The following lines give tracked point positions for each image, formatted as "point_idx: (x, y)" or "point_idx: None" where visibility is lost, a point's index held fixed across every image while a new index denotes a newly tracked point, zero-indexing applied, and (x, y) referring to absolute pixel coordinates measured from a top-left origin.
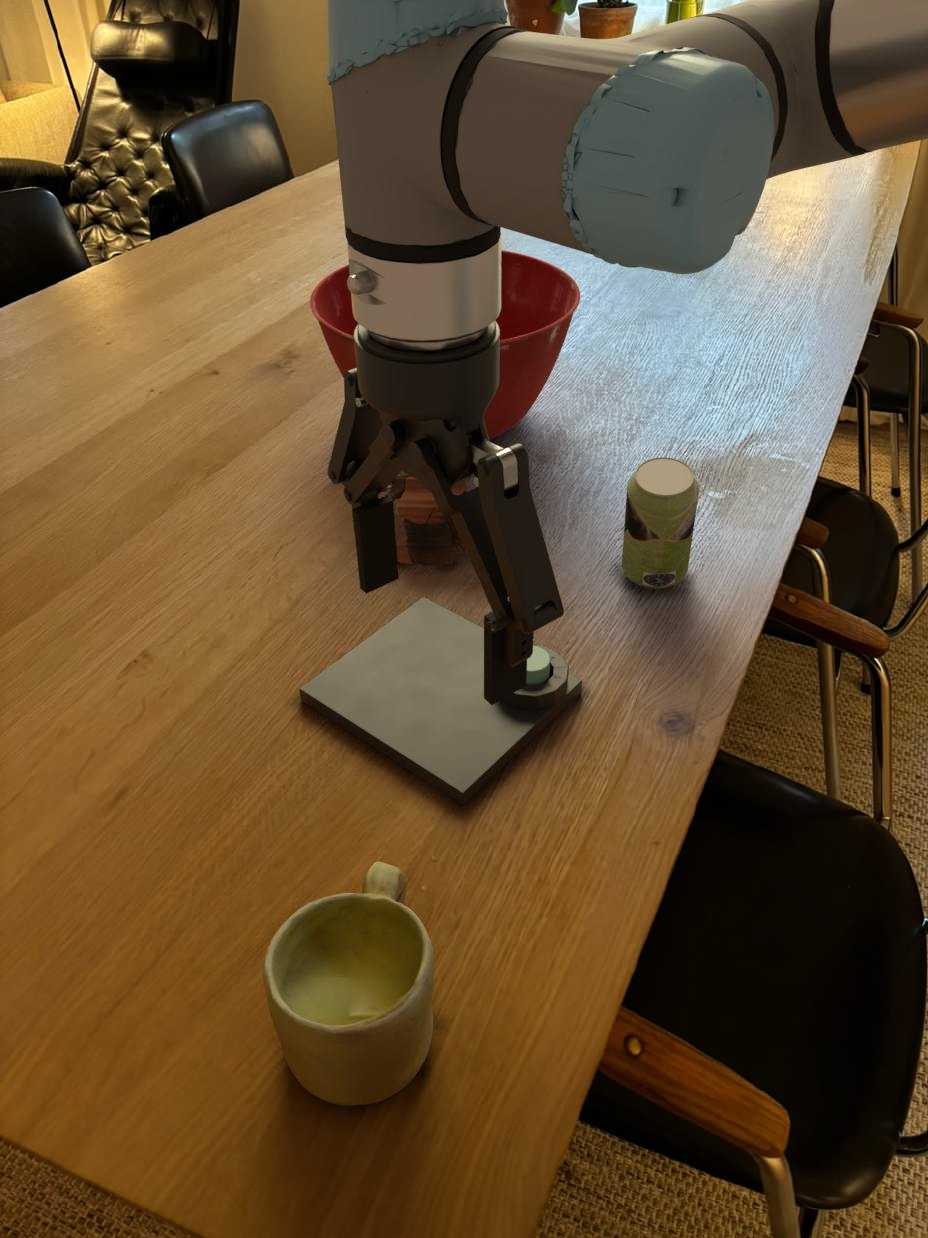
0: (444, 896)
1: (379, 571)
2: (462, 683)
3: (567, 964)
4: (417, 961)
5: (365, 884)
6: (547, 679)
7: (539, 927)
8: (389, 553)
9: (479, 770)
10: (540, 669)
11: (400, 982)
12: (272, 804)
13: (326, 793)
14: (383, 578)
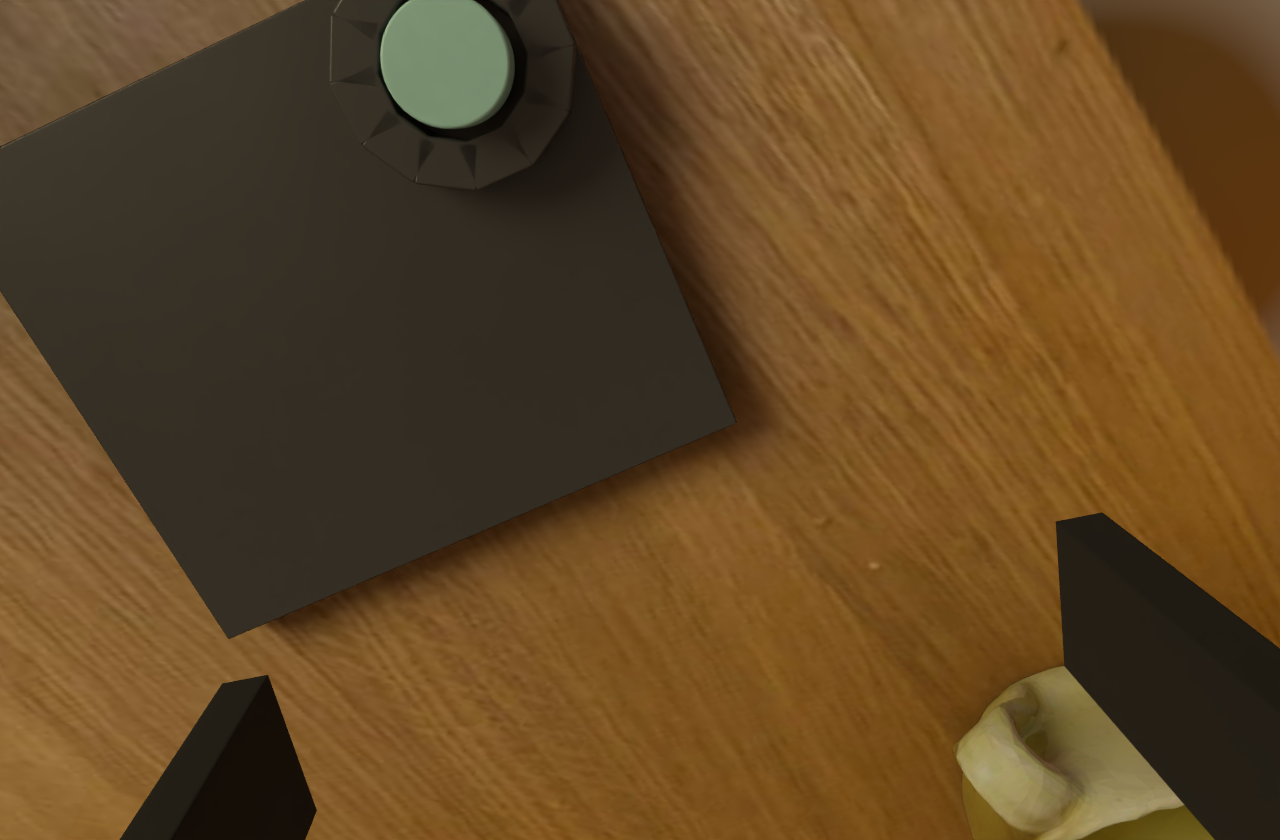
0: (914, 538)
1: (270, 809)
2: (377, 252)
3: (1176, 398)
4: None
5: (1029, 832)
6: None
7: (1080, 406)
8: (224, 812)
9: (692, 356)
10: (507, 61)
11: None
12: (531, 750)
13: (553, 651)
14: (279, 763)
